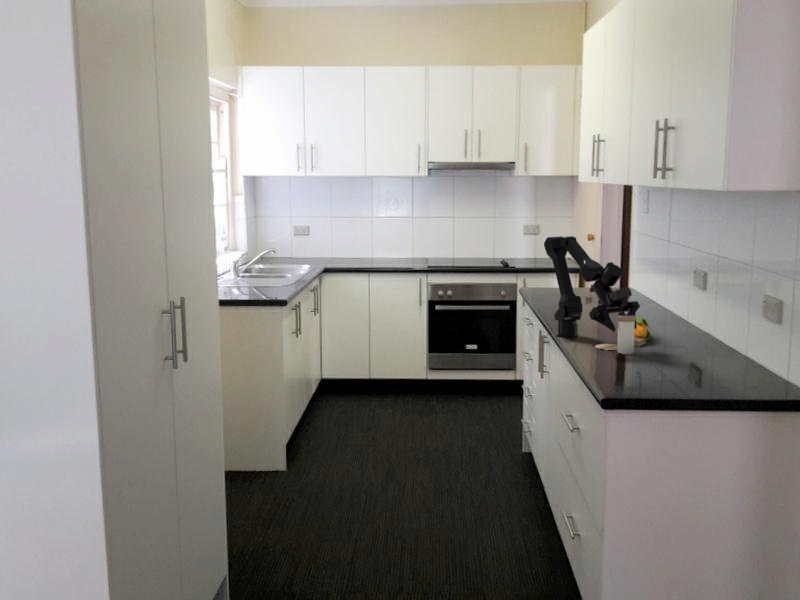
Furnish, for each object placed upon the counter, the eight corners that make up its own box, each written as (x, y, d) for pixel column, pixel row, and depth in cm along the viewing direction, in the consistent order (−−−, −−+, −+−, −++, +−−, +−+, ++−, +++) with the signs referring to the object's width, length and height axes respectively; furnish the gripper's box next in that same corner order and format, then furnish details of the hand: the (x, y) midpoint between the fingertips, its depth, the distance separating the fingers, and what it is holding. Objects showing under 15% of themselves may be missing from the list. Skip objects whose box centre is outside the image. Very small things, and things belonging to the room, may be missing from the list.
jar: (614, 353, 288) (615, 316, 287) (620, 350, 293) (621, 314, 291) (630, 355, 285) (631, 317, 283) (636, 352, 289) (637, 315, 288)
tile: (623, 344, 302) (623, 339, 302) (629, 341, 307) (630, 336, 306) (639, 346, 298) (639, 341, 298) (645, 343, 303) (645, 338, 303)
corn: (645, 313, 319) (654, 323, 300) (646, 333, 321) (654, 344, 301) (626, 315, 321) (633, 324, 301) (627, 334, 322) (633, 345, 302)
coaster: (591, 348, 296) (591, 347, 296) (602, 344, 303) (602, 342, 303) (615, 351, 291) (615, 350, 291) (625, 347, 298) (625, 345, 298)
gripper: (594, 282, 286) (614, 318, 278) (637, 278, 294) (658, 313, 286) (580, 301, 295) (599, 337, 286) (622, 297, 302) (642, 332, 294)
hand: (625, 329), depth 288 cm, fingers open, 9 cm apart
